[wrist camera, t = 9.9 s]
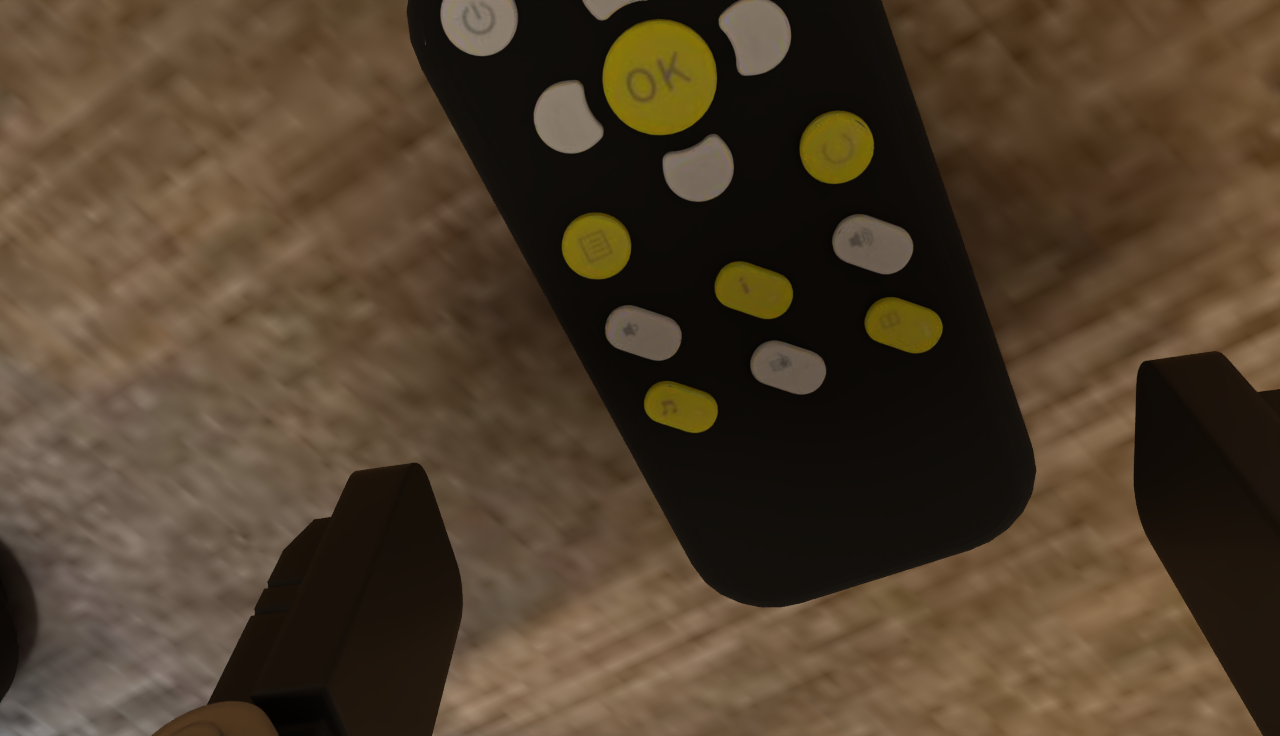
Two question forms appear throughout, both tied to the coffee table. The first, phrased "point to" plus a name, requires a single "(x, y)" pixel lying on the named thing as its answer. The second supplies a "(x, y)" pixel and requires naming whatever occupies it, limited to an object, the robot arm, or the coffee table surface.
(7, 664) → the beverage can
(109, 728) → the coffee table surface
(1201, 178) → the coffee table surface
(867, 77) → the remote control
